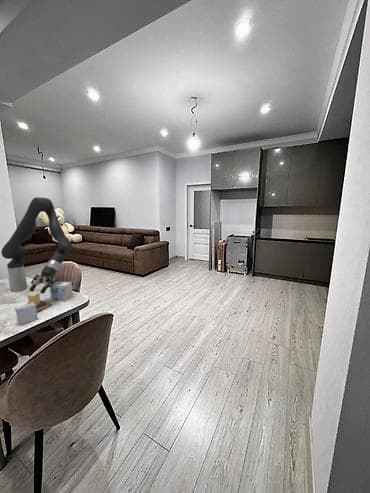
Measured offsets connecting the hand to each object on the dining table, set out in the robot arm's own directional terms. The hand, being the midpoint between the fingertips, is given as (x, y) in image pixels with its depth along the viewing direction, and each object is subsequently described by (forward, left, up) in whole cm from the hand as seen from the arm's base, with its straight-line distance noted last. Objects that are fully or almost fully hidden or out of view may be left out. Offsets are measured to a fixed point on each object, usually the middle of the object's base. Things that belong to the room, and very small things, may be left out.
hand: (36, 292), depth 118 cm
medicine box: (+9, -13, -10) cm, 19 cm away
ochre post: (0, -2, -8) cm, 9 cm away
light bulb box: (+4, +14, -10) cm, 17 cm away
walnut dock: (0, -2, -10) cm, 10 cm away
